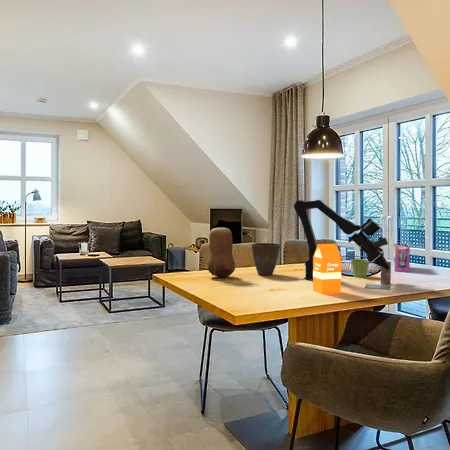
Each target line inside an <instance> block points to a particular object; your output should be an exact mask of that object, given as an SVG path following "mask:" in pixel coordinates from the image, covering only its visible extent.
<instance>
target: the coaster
mask: <svg viewBox="0 0 450 450" xmlns="http://www.w3.org/2000/svg"><path fill="white" fill-rule="evenodd" d="M390 288H391V286H390V285H376V284H375V283H366V284H365V286H364V289H370V290H381V291H382V290H384V291H390Z"/></svg>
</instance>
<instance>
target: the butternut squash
mask: <svg viewBox="0 0 450 450" xmlns="http://www.w3.org/2000/svg"><path fill="white" fill-rule="evenodd" d="M208 234H209V237H208V242H209V243H208V248H209V251H210V252H209V255H208V256H209V257H208V260H207V270H208V272H209V273H210V274H211V275H212V276H213V277H214V276H215V277H216V276H217V277H216V278H219V277H222V278H221V279H224V277H227V278H228V277H230V276H231V275H232V274H233V273H234V272H235V270H236V262H235V259H234V256H233V246H234V245H233V244H234V241H233V234H232V231H231V230H230V228H228V227H215V228H212V229H211V230H210V231H209V233H208Z"/></svg>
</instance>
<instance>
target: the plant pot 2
mask: <svg viewBox="0 0 450 450" xmlns="http://www.w3.org/2000/svg"><path fill="white" fill-rule="evenodd" d="M350 262H351V265H352V266H351V267H352V274H353V278H358V279H359V278H360V279H361V278H367V274H368V269H369V268H368V267H369V264H370V262H369V261H368V259H360V258H355V259H354V258H353V259H350Z"/></svg>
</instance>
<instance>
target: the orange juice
mask: <svg viewBox="0 0 450 450" xmlns="http://www.w3.org/2000/svg"><path fill="white" fill-rule="evenodd" d="M317 245H318V246H317V248H316V251H315V254H314V256H313V281H312V291H313V292H315V293H318V294H321V295H329V294H330V293H331V294H341V292H342V290H341V289H342V286H341V285H342V283H341V282H342V257H341V254H340V251H339V248H338V245H337V243H317Z"/></svg>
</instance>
